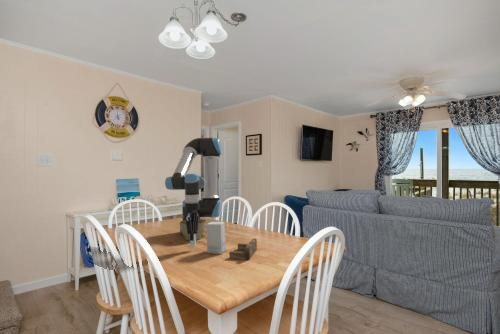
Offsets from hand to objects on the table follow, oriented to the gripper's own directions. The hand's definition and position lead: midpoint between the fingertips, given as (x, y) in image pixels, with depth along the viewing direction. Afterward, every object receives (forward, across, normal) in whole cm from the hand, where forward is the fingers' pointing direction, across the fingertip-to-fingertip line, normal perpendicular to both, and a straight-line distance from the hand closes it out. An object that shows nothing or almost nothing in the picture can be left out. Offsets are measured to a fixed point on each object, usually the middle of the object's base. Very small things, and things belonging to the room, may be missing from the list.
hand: (192, 246), depth 149 cm
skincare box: (+3, 0, -13) cm, 14 cm away
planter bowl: (+3, +22, +11) cm, 25 cm away
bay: (+2, 0, -28) cm, 28 cm away
